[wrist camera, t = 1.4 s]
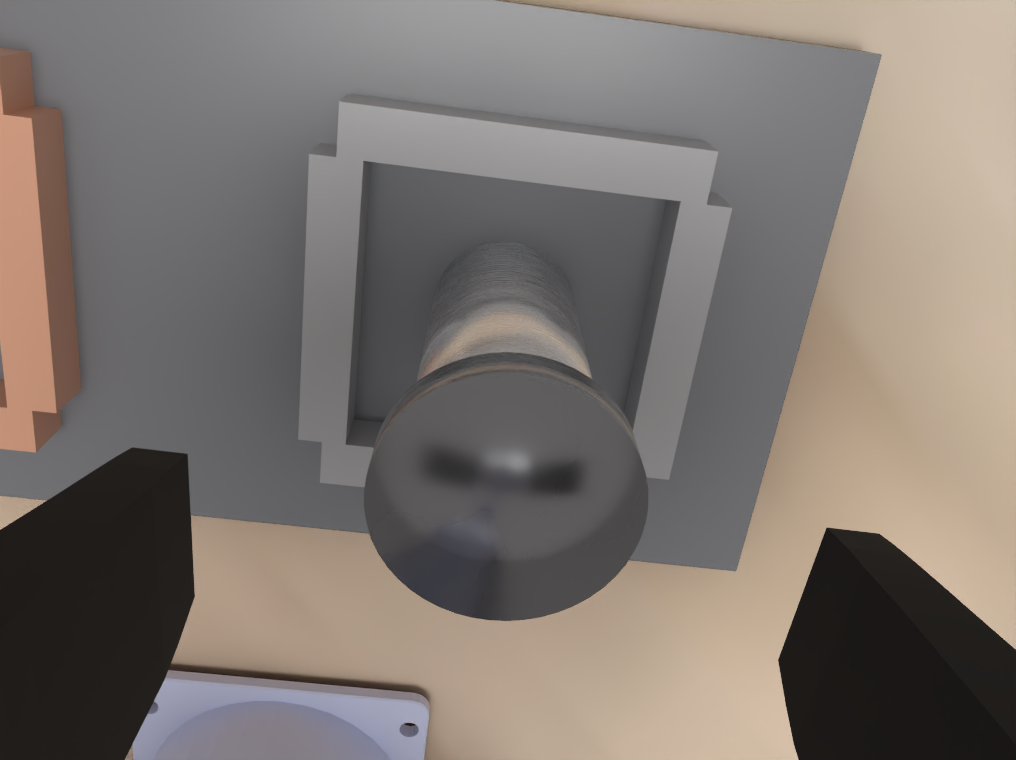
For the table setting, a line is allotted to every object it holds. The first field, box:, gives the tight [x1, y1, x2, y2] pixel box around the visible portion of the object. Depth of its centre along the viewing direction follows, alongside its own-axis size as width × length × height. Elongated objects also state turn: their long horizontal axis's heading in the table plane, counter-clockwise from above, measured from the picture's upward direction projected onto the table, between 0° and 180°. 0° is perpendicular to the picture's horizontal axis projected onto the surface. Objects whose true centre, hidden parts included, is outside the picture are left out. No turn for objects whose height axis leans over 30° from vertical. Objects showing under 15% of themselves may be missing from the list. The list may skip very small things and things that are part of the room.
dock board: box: [0, 0, 882, 571], centre depth 19 cm, size 12×26×2 cm, turn 83°
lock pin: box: [364, 241, 648, 621], centre depth 16 cm, size 4×4×8 cm
